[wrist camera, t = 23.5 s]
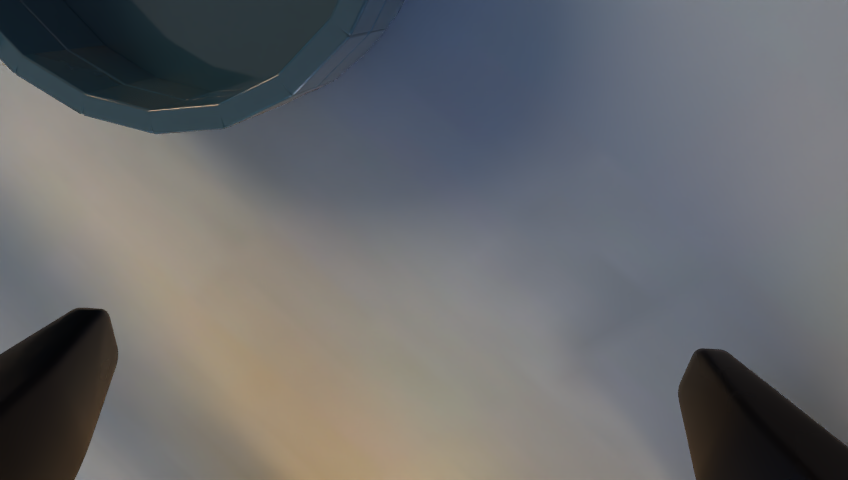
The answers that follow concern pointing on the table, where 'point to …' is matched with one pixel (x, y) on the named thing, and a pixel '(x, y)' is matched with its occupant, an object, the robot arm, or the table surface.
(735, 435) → the robot arm
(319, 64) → the dish
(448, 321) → the table surface
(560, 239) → the table surface
